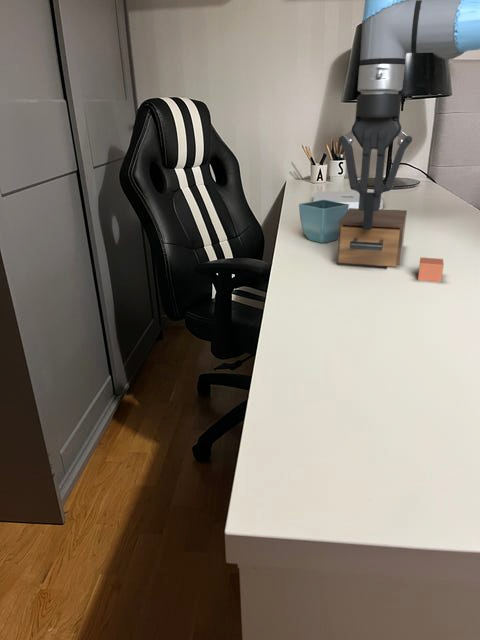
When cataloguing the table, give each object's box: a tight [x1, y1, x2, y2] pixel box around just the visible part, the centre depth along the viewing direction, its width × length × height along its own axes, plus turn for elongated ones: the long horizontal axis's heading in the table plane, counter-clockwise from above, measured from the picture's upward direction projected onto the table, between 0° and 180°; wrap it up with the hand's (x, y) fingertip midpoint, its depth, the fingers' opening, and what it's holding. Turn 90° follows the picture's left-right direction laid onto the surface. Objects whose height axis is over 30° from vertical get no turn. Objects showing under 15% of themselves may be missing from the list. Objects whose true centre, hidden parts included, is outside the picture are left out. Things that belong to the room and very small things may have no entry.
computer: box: [312, 190, 384, 210], centre depth 167 cm, size 22×22×3 cm
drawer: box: [339, 225, 400, 268], centre depth 103 cm, size 19×11×7 cm, turn 161°
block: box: [417, 257, 445, 283], centre depth 93 cm, size 4×4×4 cm
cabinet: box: [336, 208, 408, 269], centre depth 108 cm, size 15×13×9 cm
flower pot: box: [298, 200, 349, 244], centre depth 122 cm, size 9×9×9 cm
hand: (367, 227), depth 96 cm, fingers closed
